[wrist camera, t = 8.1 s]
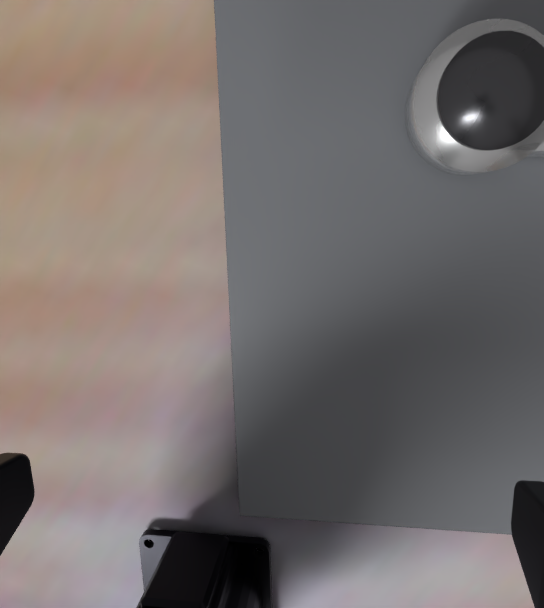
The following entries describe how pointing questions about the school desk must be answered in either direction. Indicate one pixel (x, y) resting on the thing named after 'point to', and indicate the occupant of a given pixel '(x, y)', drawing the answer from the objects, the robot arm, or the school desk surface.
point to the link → (425, 118)
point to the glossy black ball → (493, 91)
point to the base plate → (373, 276)
